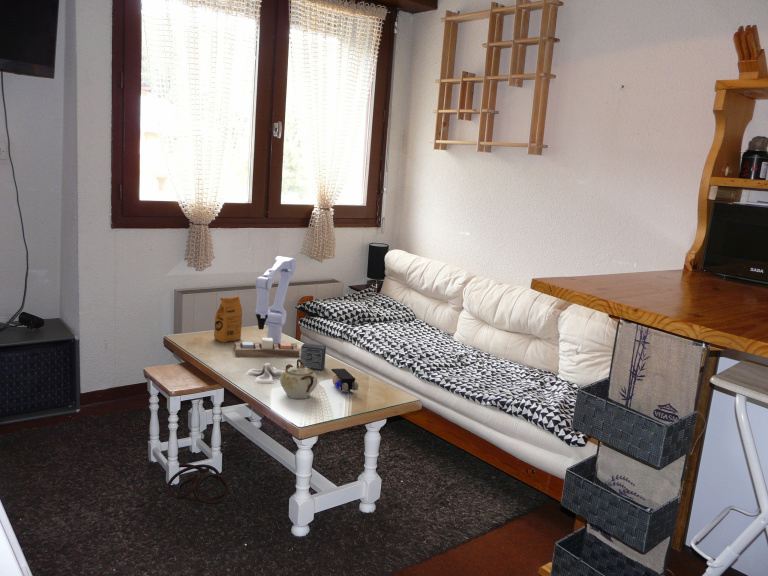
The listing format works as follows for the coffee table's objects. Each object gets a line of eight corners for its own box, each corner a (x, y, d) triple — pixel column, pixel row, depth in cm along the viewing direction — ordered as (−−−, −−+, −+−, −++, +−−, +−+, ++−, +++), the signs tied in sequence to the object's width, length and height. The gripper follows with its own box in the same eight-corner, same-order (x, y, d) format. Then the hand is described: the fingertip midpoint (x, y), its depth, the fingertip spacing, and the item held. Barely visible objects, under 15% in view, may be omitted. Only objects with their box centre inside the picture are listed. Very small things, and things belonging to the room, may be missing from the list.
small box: (325, 366, 301) (326, 345, 299) (322, 371, 294) (324, 348, 292) (302, 364, 301) (304, 342, 299) (299, 368, 295) (300, 346, 293)
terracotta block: (279, 350, 318) (280, 342, 317) (289, 350, 319) (290, 342, 318) (280, 353, 313) (281, 345, 312) (291, 353, 314) (291, 345, 314)
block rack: (234, 348, 315) (234, 342, 315) (296, 349, 323) (296, 343, 323) (235, 355, 304) (235, 349, 303) (299, 356, 312) (299, 350, 311)
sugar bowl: (269, 389, 265) (271, 354, 262) (300, 384, 274) (303, 350, 271) (294, 406, 250) (296, 369, 247) (326, 400, 259) (329, 364, 256)
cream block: (261, 345, 315) (261, 337, 314) (271, 345, 316) (272, 338, 315) (261, 348, 310) (262, 340, 309) (272, 349, 311) (273, 340, 311)
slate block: (241, 349, 313) (242, 341, 312) (252, 350, 314) (253, 342, 314) (242, 352, 308) (242, 344, 307) (253, 353, 310) (253, 345, 309)
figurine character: (357, 398, 269) (342, 382, 281) (360, 381, 266) (345, 366, 279) (343, 400, 265) (328, 383, 278) (345, 383, 263) (330, 367, 276)
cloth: (261, 387, 268) (262, 373, 267) (236, 374, 281) (236, 361, 279) (303, 378, 284) (304, 364, 283) (278, 366, 296) (278, 353, 295)
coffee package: (211, 338, 328) (213, 295, 323) (231, 335, 337) (234, 293, 332) (222, 343, 321) (224, 300, 317) (243, 340, 330) (245, 297, 326)
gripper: (272, 305, 306) (270, 333, 309) (269, 298, 320) (268, 325, 323) (257, 304, 304) (255, 333, 307) (255, 298, 318) (253, 325, 321)
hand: (260, 329), depth 315 cm, fingers closed
